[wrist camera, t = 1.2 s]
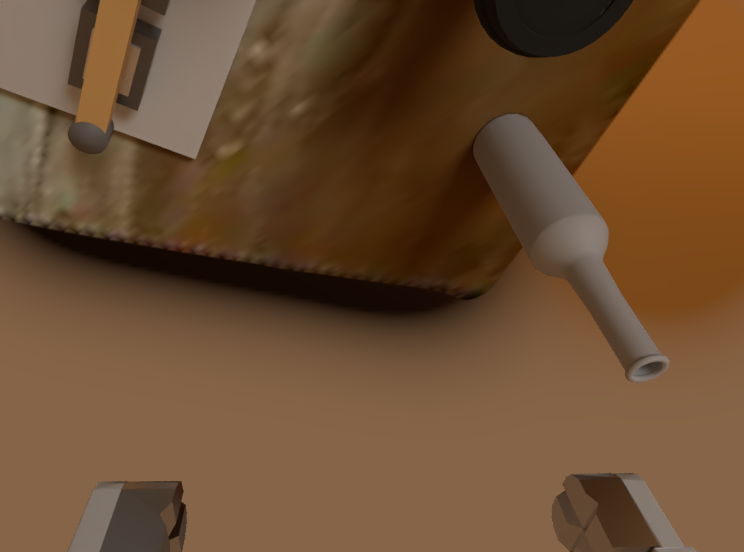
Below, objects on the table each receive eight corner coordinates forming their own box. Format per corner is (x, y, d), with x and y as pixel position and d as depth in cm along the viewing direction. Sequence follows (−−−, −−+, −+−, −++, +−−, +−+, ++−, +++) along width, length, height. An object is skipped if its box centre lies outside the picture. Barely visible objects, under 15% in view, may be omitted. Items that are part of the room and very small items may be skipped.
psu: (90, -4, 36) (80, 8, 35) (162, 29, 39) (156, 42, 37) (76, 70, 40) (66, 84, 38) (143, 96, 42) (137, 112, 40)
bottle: (547, 141, 52) (714, 364, 33) (494, 181, 55) (619, 409, 35) (515, 99, 48) (683, 324, 29) (460, 145, 51) (580, 378, 31)
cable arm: (131, -209, 27) (122, -207, 25) (199, -164, 28) (195, -160, 27) (66, 127, 39) (57, 143, 37) (117, 145, 41) (110, 161, 39)
